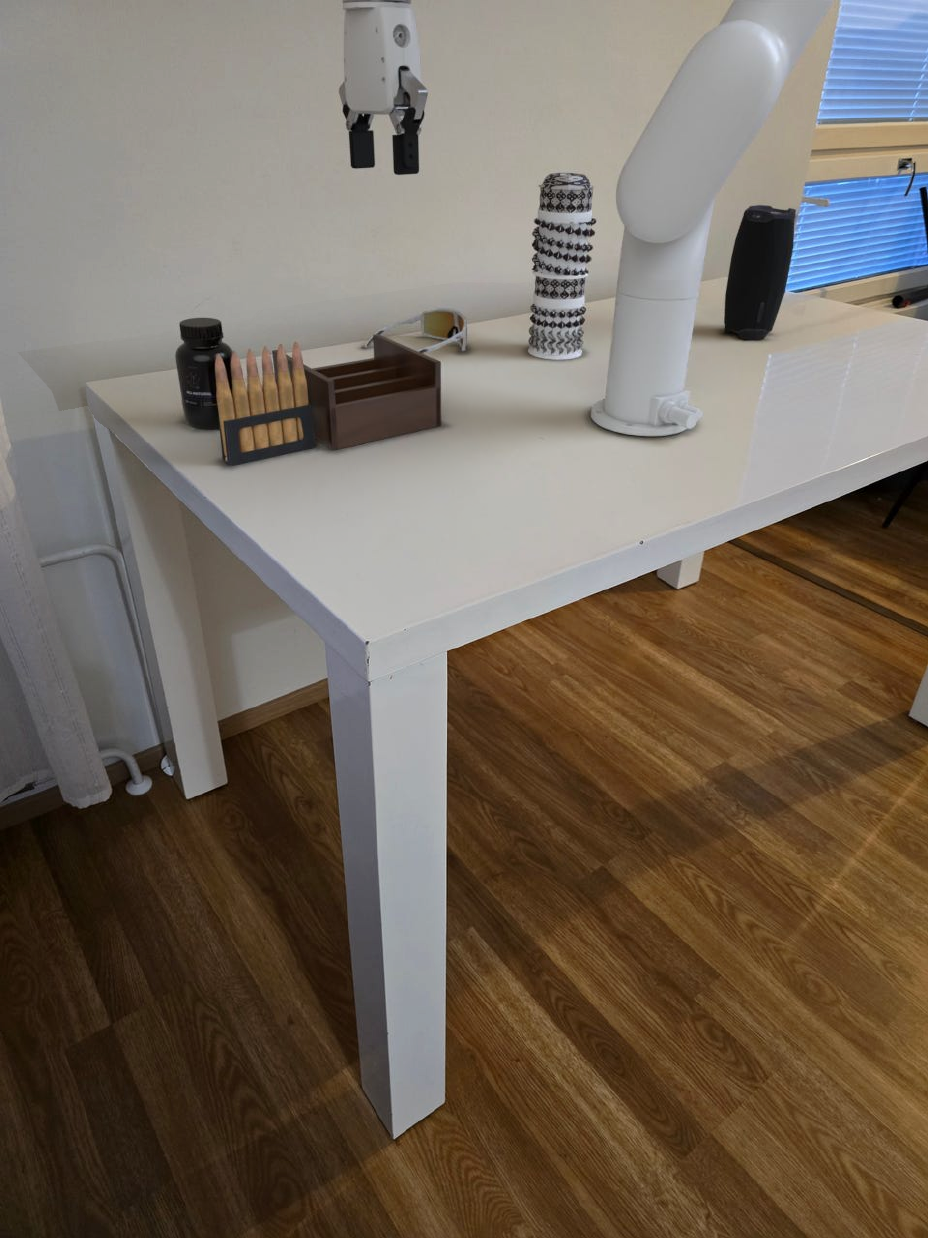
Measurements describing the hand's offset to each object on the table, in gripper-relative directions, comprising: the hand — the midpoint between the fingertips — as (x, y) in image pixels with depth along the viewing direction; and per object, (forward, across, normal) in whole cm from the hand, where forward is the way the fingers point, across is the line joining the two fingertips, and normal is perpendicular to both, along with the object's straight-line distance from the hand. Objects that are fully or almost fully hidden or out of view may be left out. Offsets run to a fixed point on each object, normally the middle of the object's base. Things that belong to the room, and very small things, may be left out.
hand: (384, 170), depth 101 cm
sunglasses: (+27, +16, -15) cm, 35 cm away
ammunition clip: (+27, -11, +24) cm, 38 cm away
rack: (+27, -7, +10) cm, 29 cm away
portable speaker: (+28, -8, -66) cm, 72 cm away
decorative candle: (+27, +2, -32) cm, 42 cm away
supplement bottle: (+27, +3, +24) cm, 37 cm away
